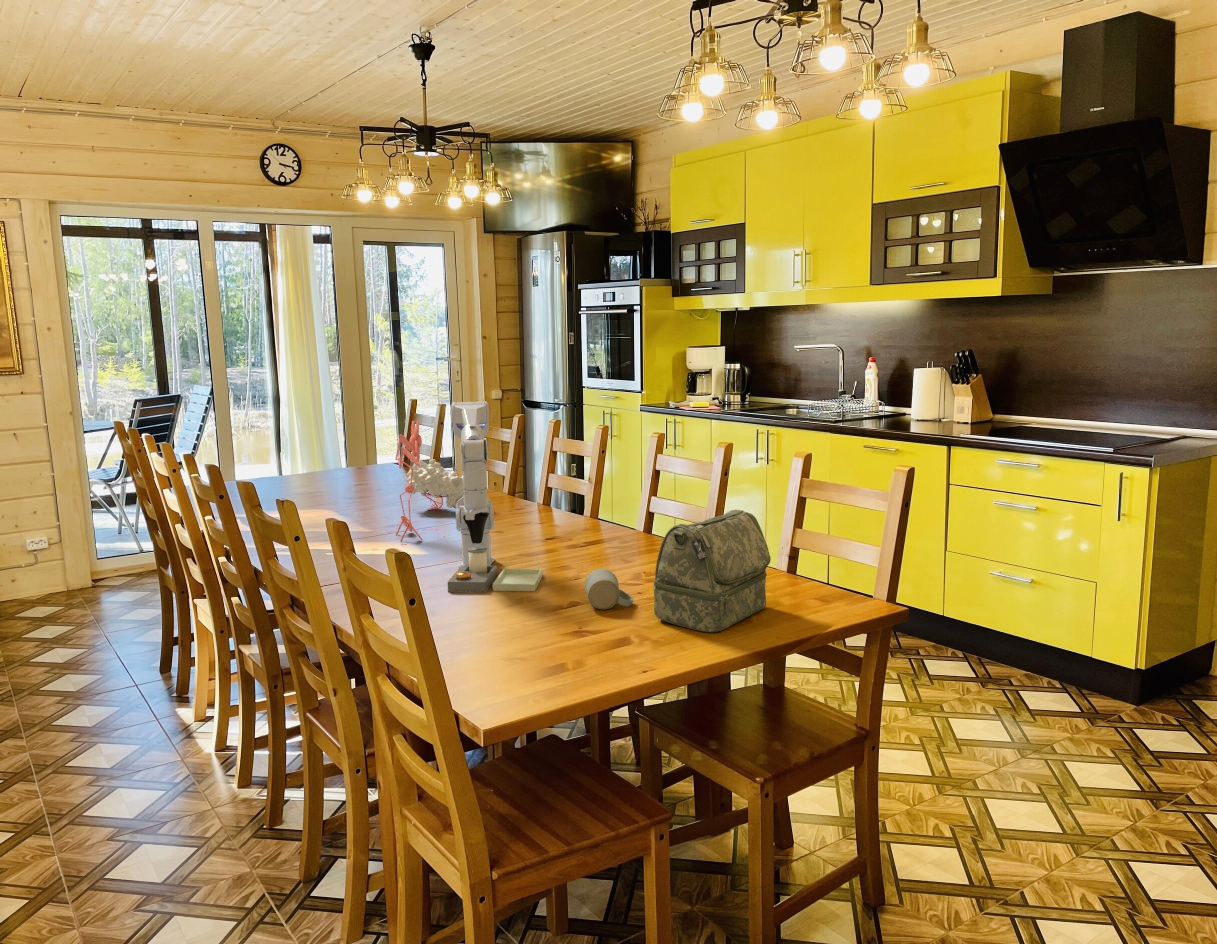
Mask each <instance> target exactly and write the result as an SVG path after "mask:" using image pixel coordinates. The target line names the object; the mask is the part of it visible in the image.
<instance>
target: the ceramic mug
mask: <svg viewBox="0 0 1217 944" xmlns="http://www.w3.org/2000/svg"><path fill="white" fill-rule="evenodd" d="M619 584H620V583H619V580H618V577H617V576H616V574H615V573H614V572H612V571H611V570H609V569H607V568H597V569H593V570H592V571H591V572H589V574H588V575H587V577H586V578H585V581H584V588H585V589H584V590H585V593H586V597H587V600H588V602H589V603H590V604H591V606H592V607H594V608H595V609H598V610H604V611H605V610H609V609H612V608H613V607H614V606H615V605H617V604H618V605H621V606H623V607H632V605H633V603H634V597H632V595H630V594H629V593H627V592H626V591H624V590H622V589H620V585H619Z"/></svg>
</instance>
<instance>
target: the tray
mask: <svg viewBox="0 0 1217 944" xmlns="http://www.w3.org/2000/svg"><path fill="white" fill-rule="evenodd" d="M543 571H544V570H543V568H503V569H502V570H501V571H500V573H499V575H497V577H496V578H495V579H494V581H493V582H492V591H495V592H497V591H498V592H500V591H501V592H504V591H505V592H507V591H508V592H513V591H514V592H535V591H536V590H537V587H538V586H539V583H540V581H541V579H542V577H543V576H544V574H543V573H544V572H543Z"/></svg>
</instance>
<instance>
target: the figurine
mask: <svg viewBox="0 0 1217 944" xmlns="http://www.w3.org/2000/svg"><path fill="white" fill-rule="evenodd" d="M410 428H411V429H410V432H411V433H410V434H411V436H410V438H409V440H408V439H407V438H406V437H405V436H404V435H403V434H402V433H401V434H399V439H398V443H397V450H396V454H395V461H398V468H399V469H402V464H403V465H405V466H406V467H408V468H409V469H410V468H411V469H412V472H411V484H409V483H408V484H407V485H406V486H405V487H404V492H402V493H401V494H399V499H400V504H401V508H402V515H401V516H400V519H401V522H400V524H399V525H398V528H397V531H396V533H395V535H396V536H398V534H399V532H400V529H401V528H402V526H403V525H404V526H405V530H404V532H403V534H402V536H401V538H400V540H399V541H400V542H403V540H404V538H405V536H406V534H407V532H408V530H409V532H411V533H412V532H413V533H415V535H416V536H417V537H418V538H419V539H420V540H421V541H423V539H422V537H421V536H420V534H419V533H418V531H417V530H416V528H414V526H413V524H412V521H411V504H410V503H411V502H410V500H411V497H412V495H413V494H412V492H413V491H414V486H413V485H412V478H413V470H414V469H413V466H411V465H409V464H408V463H406V462H405V461H403V457H404V456H406V457H407V459H408V460H410V461H411V462H412V463H413V464H416V465H417V466H419V467H421V466H420V464H419V460H421V459H420V457H421V453H420V452H421V451H420V448H421V446H422V442H423V439H422V436H421V435H420V423H419V421H417V422H416V423H415V421H414V420H412V421H411V427H410ZM401 444H403V446H402V447H401ZM400 450H401V452H400ZM399 452H400V457H399V458H398V456H399ZM404 494H409V497H408V500H407V501H408V503H407V504H408V517H409V518H408V517H407V516H406V514H405V509H404V505H403V500H402V496H403V495H404ZM423 530H425V528H423ZM429 530H430V531H432V530H433V531H436V532H440V533H443V534H444V531H443V532H442V531H441V530H439V529H432V528H429ZM395 535H394V536H395ZM445 536H446V535H444V536H443V538H445ZM400 545H401V546H403V545H405V546H407V545H408V544H407V543H404V544H403V543H401V544H400Z"/></svg>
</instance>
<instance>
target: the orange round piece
mask: <svg viewBox="0 0 1217 944" xmlns="http://www.w3.org/2000/svg"><path fill="white" fill-rule="evenodd" d="M456 572H457V571H456ZM456 572H455V573H456ZM456 578H457V579H459V580H468V578H471V572H468V571H461V572H457V573H456Z"/></svg>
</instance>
